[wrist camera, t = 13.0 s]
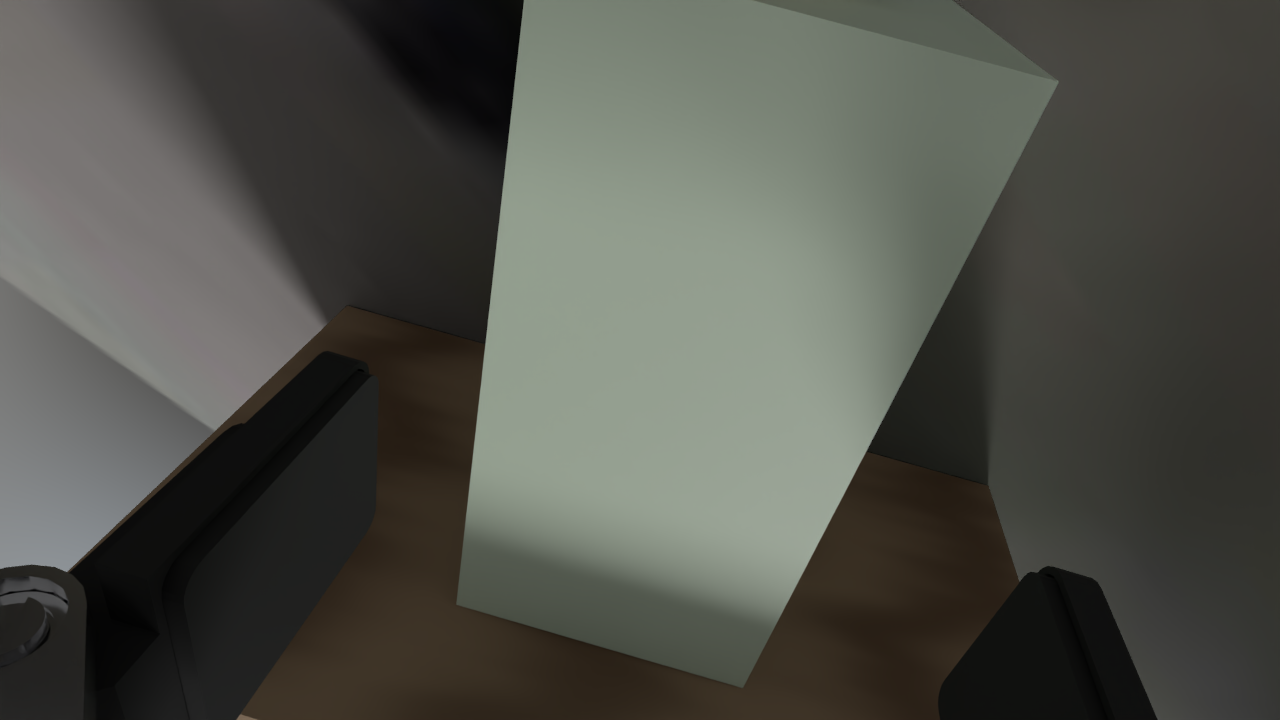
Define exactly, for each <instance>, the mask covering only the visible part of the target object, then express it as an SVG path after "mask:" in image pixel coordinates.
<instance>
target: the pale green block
mask: <svg viewBox="0 0 1280 720" xmlns="http://www.w3.org/2000/svg"><path fill="white" fill-rule="evenodd" d="M1058 83H1059V81H1057V80H1056V79H1055V78H1053V77H1052V76H1051V75H1050V74H1048V73H1047V72H1046V71H1044V70H1043V69H1042V68H1040V67H1039V66H1038V65H1036V64H1035V63H1034V62H1033V61H1031V60H1030V59H1029V58H1027V57H1026V56H1025V55H1023V54H1022V53H1021V52H1019V51H1018V50H1017V49H1015V48H1014V47H1013V46H1012V45H1010V44H1009V43H1008V42H1006V41H1005V40H1004V39H1002V38H1001V37H1000V36H998V35H997V34H996V33H995V32H993V31H992V30H991V29H989V28H988V27H987V26H985V25H984V24H983V23H981V22H980V21H979V20H978V19H976V18H975V17H974V16H972V15H971V14H970V13H968V12H967V11H966V10H964V9H963V8H962V7H961V6H959V5H958V4H957V3H955V2H954V1H953V0H524V5H523V14H522V23H521V32H520V41H519V50H518V59H517V68H516V77H515V86H514V94H513V103H512V112H511V121H510V130H509V139H508V148H507V157H506V166H505V175H504V184H503V192H502V201H501V210H500V219H499V228H498V237H497V246H496V255H495V264H494V273H493V281H492V290H491V299H490V308H489V317H488V326H487V335H486V344H485V353H484V362H483V371H482V379H481V388H480V397H479V406H478V415H477V424H476V433H475V442H474V451H473V460H472V469H471V477H470V486H469V495H468V504H467V513H466V522H465V531H464V540H463V549H462V558H461V567H460V575H459V584H458V593H457V602H456V605H459V606H462V607H466V608H469V609H473V610H476V611H480V612H483V613H486V614H490V615H493V616H497V617H500V618H504V619H507V620H510V621H514V622H517V623H521V624H524V625H528V626H531V627H534V628H538V629H541V630H545V631H548V632H552V633H555V634H558V635H562V636H565V637H569V638H572V639H576V640H579V641H583V642H586V643H589V644H593V645H596V646H600V647H603V648H607V649H610V650H613V651H617V652H620V653H624V654H627V655H631V656H634V657H637V658H641V659H644V660H648V661H651V662H655V663H658V664H661V665H665V666H668V667H672V668H675V669H679V670H682V671H685V672H689V673H692V674H696V675H699V676H703V677H706V678H710V679H713V680H716V681H720V682H723V683H727V684H730V685H734V686H737V687H740V688H743V687H744V685H745V683H746V681H747V679H748V677H749V675H750V673H751V672H752V670H753V668H754V666H755V664H756V662H757V660H758V658H759V656H760V654H761V652H762V650H763V648H764V647H765V645H766V643H767V641H768V639H769V637H770V635H771V633H772V631H773V629H774V627H775V625H776V624H777V622H778V620H779V618H780V616H781V614H782V612H783V610H784V608H785V606H786V604H787V602H788V601H789V599H790V597H791V595H792V593H793V591H794V589H795V587H796V585H797V583H798V581H799V579H800V578H801V576H802V574H803V572H804V570H805V568H806V566H807V564H808V562H809V560H810V558H811V556H812V555H813V553H814V551H815V549H816V547H817V545H818V543H819V541H820V539H821V537H822V535H823V533H824V531H825V530H826V528H827V526H828V524H829V522H830V520H831V518H832V516H833V514H834V512H835V510H836V508H837V507H838V505H839V503H840V501H841V499H842V497H843V495H844V493H845V491H846V489H847V487H848V485H849V484H850V482H851V480H852V478H853V476H854V474H855V472H856V470H857V468H858V466H859V464H860V462H861V461H862V459H863V457H864V455H865V453H866V451H867V449H868V447H869V445H870V443H871V441H872V439H873V438H874V436H875V434H876V432H877V430H878V428H879V426H880V424H881V422H882V420H883V418H884V416H885V414H886V413H887V411H888V409H889V407H890V405H891V403H892V401H893V399H894V397H895V395H896V393H897V391H898V390H899V388H900V386H901V384H902V382H903V380H904V378H905V376H906V374H907V372H908V370H909V368H910V367H911V365H912V363H913V361H914V359H915V357H916V355H917V353H918V351H919V349H920V347H921V345H922V344H923V342H924V340H925V338H926V336H927V334H928V332H929V330H930V328H931V326H932V324H933V322H934V321H935V319H936V317H937V315H938V313H939V311H940V309H941V307H942V305H943V303H944V301H945V299H946V297H947V296H948V294H949V292H950V290H951V288H952V286H953V284H954V282H955V280H956V278H957V276H958V274H959V273H960V271H961V269H962V267H963V265H964V263H965V261H966V259H967V257H968V255H969V253H970V251H971V250H972V248H973V246H974V244H975V242H976V240H977V238H978V236H979V234H980V232H981V230H982V228H983V227H984V225H985V223H986V221H987V219H988V217H989V215H990V213H991V211H992V209H993V207H994V205H995V204H996V202H997V200H998V198H999V196H1000V194H1001V192H1002V190H1003V188H1004V186H1005V184H1006V182H1007V180H1008V179H1009V177H1010V175H1011V173H1012V171H1013V169H1014V167H1015V165H1016V163H1017V161H1018V159H1019V157H1020V156H1021V154H1022V152H1023V150H1024V148H1025V146H1026V144H1027V142H1028V140H1029V138H1030V136H1031V134H1032V133H1033V131H1034V129H1035V127H1036V125H1037V123H1038V121H1039V119H1040V117H1041V115H1042V113H1043V111H1044V110H1045V108H1046V106H1047V104H1048V102H1049V100H1050V98H1051V96H1052V94H1053V92H1054V90H1055V88H1056V87H1057V85H1058Z"/></svg>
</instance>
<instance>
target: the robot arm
mask: <svg viewBox="0 0 1280 720" xmlns="http://www.w3.org/2000/svg"><path fill="white" fill-rule="evenodd" d="M378 396H379V382H378V378H377V376H375V375H372V374H369V367H368V365H367V363H365V362H364V361H361V360H357V359H354V358H351V357H347V356H344V355H340V354H337V353H334V352H330V351H324V352H322V353H320V354H319V355H318V356H317V357H316V358H314V359H313V360H312V361H311V362H310V363H309V364H308V365H307V366H306V367H305V368H304V369H303V370H302V371H300V372H299V373H298V374H297V375H296V376H295V377H294V378H293V379H292V380H291V381H290V382H289V383H288V384H287V385H285V386H284V387H283V388H282V389H281V390H280V391H279V392H278V393H277V394H276V395H275V396H274V397H273V398H271V399H270V400H269V401H268V402H267V403H266V404H265V405H264V406H263V407H262V408H261V409H260V410H259V411H257V412H256V413H255V414H254V415H253V416H252V417H251V418H250V419H249V420H248V421H247V422H246V423H245V424H243V423H240V424H237V425H233V426H231V427H230V428H229V429H227V430H226V431H224V432H223V433H222V434H221V435H220V436H218V437H217V438H216V439H215V440H214V441H213V442H212V443H211V444H210V445H209V446H207V447H206V448H205V449H204V450H203V451H202V452H201V453H200V454H199V455H198V456H197V457H195V458H194V459H193V460H192V461H191V462H190V463H189V464H188V465H187V466H186V467H184V468H183V469H182V470H181V471H180V472H179V473H178V474H177V475H176V476H175V477H173V478H172V479H171V480H170V481H169V482H168V483H167V484H166V485H165V486H164V487H162V488H161V489H160V490H159V491H158V492H157V493H156V494H155V495H154V496H153V497H152V498H150V499H149V500H148V501H147V502H146V503H145V504H144V505H143V506H142V507H141V508H139V509H138V510H137V511H136V512H135V513H134V514H133V515H132V516H131V517H130V518H128V519H127V520H126V521H125V522H124V523H123V524H122V525H121V526H120V527H119V528H117V529H116V530H115V531H114V532H113V533H112V534H111V535H110V536H109V537H108V538H107V539H105V540H104V541H103V542H102V543H101V544H100V545H99V546H98V547H97V548H96V549H94V550H93V551H92V552H91V553H90V554H89V555H88V556H87V557H86V558H85V559H83V560H82V561H81V562H80V563H79V564H78V565H77V566H76V567H75V568H74V569H72V570H71V571H70V572H69V573H67V572H65V571H63V570H60V569H58V568H56V567H49V566H39V565H24V566H15V567H6V568H3V569H0V720H237V718H238V717H239V715H240V714H241V712H242V711H243V709H244V708H245V707H246V705H247V704H248V702H249V701H250V699H251V698H252V697H253V695H254V694H255V692H256V691H257V689H258V688H259V687H260V685H261V684H262V682H263V681H264V679H265V678H266V676H267V675H268V674H269V672H270V671H271V669H272V668H273V666H274V665H275V664H276V662H277V661H278V659H279V658H280V656H281V655H282V653H283V652H284V651H285V649H286V648H287V646H288V645H289V643H290V642H291V641H292V639H293V638H294V636H295V635H296V633H297V632H298V631H299V629H300V628H301V626H302V625H303V623H304V622H305V620H306V619H307V618H308V616H309V615H310V613H311V612H312V610H313V609H314V608H315V606H316V605H317V603H318V602H319V600H320V599H321V597H322V596H323V595H324V593H325V592H326V590H327V589H328V587H329V586H330V585H331V583H332V582H333V580H334V579H335V577H336V576H337V575H338V573H339V572H340V570H341V569H342V567H343V566H344V564H345V563H346V562H347V560H348V559H349V557H350V556H351V554H352V553H353V552H354V550H355V549H356V547H357V546H358V544H359V543H360V541H361V540H362V539H363V537H364V536H365V534H366V533H367V531H368V529H369V528H370V526H371V523H372V521H373V518H374V515H375V510H376V483H377V439H378ZM938 710H939V716H940V720H1157V717H1156V715H1155V713H1154V710H1153V708H1152V706H1151V703H1150V701H1149V699H1148V696H1147V694H1146V692H1145V689H1144V687H1143V685H1142V682H1141V680H1140V678H1139V675H1138V673H1137V671H1136V668H1135V666H1134V664H1133V661H1132V659H1131V657H1130V654H1129V652H1128V650H1127V647H1126V645H1125V643H1124V640H1123V638H1122V636H1121V633H1120V631H1119V629H1118V626H1117V624H1116V622H1115V619H1114V617H1113V615H1112V612H1111V610H1110V608H1109V605H1108V603H1107V601H1106V598H1105V596H1104V593H1103V591H1102V589H1101V587H1100V586H1099V584H1098V582H1096V581H1095V580H1094V579H1092V578H1089V577H1086V576H1083V575H1079V574H1076V573H1073V572H1069V571H1066V570H1062V569H1059V568H1056V567H1051V566H1047V567H1044V568H1042V569H1041V570H1040V571H1039V572H1038V573H1035V572H1030V573H1028V574H1026V575H1025V576H1024V577H1023V579H1022V580H1021V581H1020V583H1019V584H1018V585H1017V586H1016V588H1015V589H1014V590H1013V592H1012V593H1011V594H1010V596H1009V597H1008V598H1007V599H1006V601H1005V602H1004V603H1003V605H1002V606H1001V607H1000V609H999V610H998V611H997V612H996V614H995V615H994V616H993V618H992V619H991V620H990V622H989V623H988V624H987V625H986V627H985V628H984V629H983V631H982V632H981V633H980V635H979V636H978V637H977V638H976V640H975V641H974V642H973V644H972V645H971V646H970V648H969V649H968V650H967V651H966V653H965V654H964V655H963V657H962V658H961V659H960V661H959V662H958V663H957V664H956V666H955V667H954V668H953V670H952V671H951V672H950V674H949V675H948V676H947V677H946V679H945V680H944V682H943V683H942V685H941V688H940V691H939V696H938Z"/></svg>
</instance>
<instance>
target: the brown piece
mask: <svg viewBox="0 0 1280 720" xmlns="http://www.w3.org/2000/svg"><path fill="white" fill-rule="evenodd" d="M324 351H330V352H334V353H337V354H340V355H344V356H347V357H351V358H354V359H357V360H361V361H364V362H365V363H367V365H368V367H369V374H372V375H375V376H377V378H378V382H379V396H378V439H377V483H376V510H375V515H374V518H373V521H372V523H371V526H370V528H369V529H368V531H367V533H366V534H365V536H364V537H363V539H362V540H361V541H360V543H359V544H358V546H357V547H356V549H355V550H354V552H353V553H352V554H351V556H350V557H349V559H348V560H347V562H346V563H345V564H344V566H343V567H342V569H341V570H340V572H339V573H338V575H337V576H336V577H335V579H334V580H333V582H332V583H331V585H330V586H329V587H328V589H327V590H326V592H325V593H324V595H323V596H322V597H321V599H320V600H319V602H318V603H317V605H316V606H315V608H314V609H313V610H312V612H311V613H310V615H309V616H308V618H307V619H306V620H305V622H304V623H303V625H302V626H301V628H300V629H299V631H298V632H297V633H296V635H295V636H294V638H293V639H292V641H291V642H290V643H289V645H288V646H287V648H286V649H285V651H284V652H283V653H282V655H281V656H280V658H279V659H278V661H277V662H276V664H275V665H274V666H273V668H272V669H271V671H270V672H269V674H268V675H267V676H266V678H265V679H264V681H263V682H262V684H261V685H260V687H259V688H258V689H257V691H256V692H255V694H254V695H253V697H252V698H251V699H250V701H249V702H248V704H247V705H246V707H245V708H244V709H243V711H242V712H241V714H240V715H239V717H238V718H237V720H940V716H939V710H938V696H939V691H940V688H941V685H942V683H943V682H944V680H945V679H946V677H947V676H948V675H949V674H950V672H951V671H952V670H953V668H954V667H955V666H956V664H957V663H958V662H959V661H960V659H961V658H962V657H963V655H964V654H965V653H966V651H967V650H968V649H969V648H970V646H971V645H972V644H973V642H974V641H975V640H976V638H977V637H978V636H979V635H980V633H981V632H982V631H983V629H984V628H985V627H986V625H987V624H988V623H989V622H990V620H991V619H992V618H993V616H994V615H995V614H996V612H997V611H998V610H999V609H1000V607H1001V606H1002V605H1003V603H1004V602H1005V601H1006V599H1007V598H1008V597H1009V596H1010V594H1011V593H1012V592H1013V590H1014V589H1015V588H1016V586H1017V585H1018V584H1019V579H1018V576H1017V573H1016V570H1015V567H1014V564H1013V561H1012V558H1011V555H1010V551H1009V548H1008V545H1007V542H1006V539H1005V536H1004V533H1003V530H1002V527H1001V523H1000V520H999V517H998V514H997V511H996V508H995V505H994V502H993V499H992V495H991V492H990V489H989V486H987V485H983V484H980V483H976V482H972V481H969V480H965V479H962V478H958V477H955V476H951V475H948V474H944V473H940V472H937V471H933V470H930V469H926V468H923V467H919V466H916V465H912V464H908V463H905V462H901V461H898V460H894V459H891V458H887V457H884V456H880V455H876V454H873V453H869V452H866V453H865V455H864V457H863V459H862V461H861V462H860V464H859V466H858V468H857V470H856V472H855V474H854V476H853V478H852V480H851V482H850V484H849V485H848V487H847V489H846V491H845V493H844V495H843V497H842V499H841V501H840V503H839V505H838V507H837V508H836V510H835V512H834V514H833V516H832V518H831V520H830V522H829V524H828V526H827V528H826V530H825V531H824V533H823V535H822V537H821V539H820V541H819V543H818V545H817V547H816V549H815V551H814V553H813V555H812V556H811V558H810V560H809V562H808V564H807V566H806V568H805V570H804V572H803V574H802V576H801V578H800V579H799V581H798V583H797V585H796V587H795V589H794V591H793V593H792V595H791V597H790V599H789V601H788V602H787V604H786V606H785V608H784V610H783V612H782V614H781V616H780V618H779V620H778V622H777V624H776V625H775V627H774V629H773V631H772V633H771V635H770V637H769V639H768V641H767V643H766V645H765V647H764V648H763V650H762V652H761V654H760V656H759V658H758V660H757V662H756V664H755V666H754V668H753V670H752V672H751V673H750V675H749V677H748V679H747V681H746V683H745V685H744V687H743V688H740V687H737V686H734V685H730V684H727V683H723V682H720V681H716V680H713V679H710V678H706V677H703V676H699V675H696V674H692V673H689V672H685V671H682V670H679V669H675V668H672V667H668V666H665V665H661V664H658V663H655V662H651V661H648V660H644V659H641V658H637V657H634V656H631V655H627V654H624V653H620V652H617V651H613V650H610V649H607V648H603V647H600V646H596V645H593V644H589V643H586V642H583V641H579V640H576V639H572V638H569V637H565V636H562V635H558V634H555V633H552V632H548V631H545V630H541V629H538V628H534V627H531V626H528V625H524V624H521V623H517V622H514V621H510V620H507V619H504V618H500V617H497V616H493V615H490V614H486V613H483V612H480V611H476V610H473V609H469V608H466V607H462V606H459V605H456V602H457V593H458V584H459V575H460V567H461V558H462V549H463V540H464V531H465V522H466V513H467V504H468V495H469V486H470V477H471V469H472V460H473V451H474V442H475V433H476V424H477V415H478V406H479V397H480V388H481V379H482V371H483V362H484V353H485V344H482V343H478V342H475V341H471V340H468V339H464V338H461V337H457V336H454V335H450V334H446V333H443V332H439V331H436V330H432V329H429V328H425V327H422V326H418V325H414V324H411V323H407V322H404V321H400V320H397V319H393V318H390V317H386V316H383V315H379V314H375V313H372V312H368V311H365V310H361V309H358V308H354V307H351V306H346V307H345V308H344V309H343V310H342V311H341V312H340V313H339V314H338V315H337V316H336V317H335V318H334V319H332V320H331V321H330V322H329V323H328V324H327V325H326V326H325V327H324V328H323V329H322V330H321V331H320V332H319V333H318V334H317V335H316V336H315V337H314V338H313V339H311V340H310V341H309V342H308V343H307V344H306V345H305V346H304V347H303V348H302V349H301V350H300V351H299V352H298V353H297V354H296V355H295V356H294V357H293V358H292V359H290V360H289V361H288V362H287V363H286V364H285V365H284V366H283V367H282V368H281V369H280V370H279V371H278V372H277V373H276V374H275V375H274V376H273V377H272V378H271V379H269V380H268V381H267V382H266V383H265V384H264V385H263V386H262V387H261V388H260V389H259V390H258V391H257V392H256V393H255V394H254V395H253V396H252V397H251V398H250V399H248V400H247V401H246V402H245V403H244V404H243V405H242V406H241V407H240V408H239V409H238V410H237V411H236V412H235V413H234V414H233V415H232V416H231V417H230V418H228V419H227V420H226V421H225V422H224V423H223V424H222V425H221V426H220V427H219V428H218V429H217V430H216V431H215V432H214V433H213V434H212V435H211V436H210V437H209V438H207V439H206V440H205V441H204V442H203V443H202V444H201V445H200V446H199V447H198V448H197V449H196V450H195V451H194V452H193V453H192V454H191V455H190V456H189V457H188V458H186V459H185V460H184V461H183V462H182V463H181V464H180V465H179V466H178V467H177V468H176V469H175V470H174V471H173V472H172V473H171V474H170V475H169V476H168V477H167V478H165V480H163V481H162V482H161V483H160V484H159V485H158V486H157V487H156V488H155V489H154V490H153V491H152V492H151V493H150V494H149V495H148V496H147V497H146V498H144V499H143V500H142V501H141V502H140V503H139V504H138V505H137V506H136V507H135V508H134V509H133V510H132V511H131V512H130V513H129V514H128V515H127V516H126V517H125V518H124V519H122V520H121V521H120V522H119V523H118V524H117V525H116V526H115V527H114V528H113V529H112V530H111V531H110V532H109V533H108V534H107V535H106V536H105V537H103V539H101V540H100V541H99V542H98V543H97V544H96V545H95V546H94V547H93V548H92V549H91V550H90V551H89V552H88V553H87V554H86V555H85V556H84V557H83V558H81V559H80V560H79V561H78V562H77V563H76V564H75V565H74V566H73V567H72V568H71V569H70V570H69V571H68V572H67V573H69V572H70V571H71V570H72V569H74V568H75V567H76V566H77V565H78V564H79V563H80V562H81V561H82V560H83V559H85V558H86V557H87V556H88V555H89V554H90V553H91V552H92V551H93V550H94V549H96V548H97V547H98V546H99V545H100V544H101V543H102V542H103V541H104V540H105V539H107V538H108V537H109V536H110V535H111V534H112V533H113V532H114V531H115V530H116V529H117V528H119V527H120V526H121V525H122V524H123V523H124V522H125V521H126V520H127V519H128V518H130V517H131V516H132V515H133V514H134V513H135V512H136V511H137V510H138V509H139V508H141V507H142V506H143V505H144V504H145V503H146V502H147V501H148V500H149V499H150V498H152V497H153V496H154V495H155V494H156V493H157V492H158V491H159V490H160V489H161V488H162V487H164V486H165V485H166V484H167V483H168V482H169V481H170V480H171V479H172V478H173V477H175V476H176V475H177V474H178V473H179V472H180V471H181V470H182V469H183V468H184V467H186V466H187V465H188V464H189V463H190V462H191V461H192V460H193V459H194V458H195V457H197V456H198V455H199V454H200V453H201V452H202V451H203V450H204V449H205V448H206V447H207V446H209V445H210V444H211V443H212V442H213V441H214V440H215V439H216V438H217V437H218V436H220V435H221V434H222V433H223V432H224V431H226V430H227V429H229V428H230V427H231V426H233V425H237V424H240V423H243V424H245V423H246V422H247V421H248V420H249V419H250V418H251V417H252V416H253V415H254V414H255V413H256V412H257V411H259V410H260V409H261V408H262V407H263V406H264V405H265V404H266V403H267V402H268V401H269V400H270V399H271V398H273V397H274V396H275V395H276V394H277V393H278V392H279V391H280V390H281V389H282V388H283V387H284V386H285V385H287V384H288V383H289V382H290V381H291V380H292V379H293V378H294V377H295V376H296V375H297V374H298V373H299V372H300V371H302V370H303V369H304V368H305V367H306V366H307V365H308V364H309V363H310V362H311V361H312V360H313V359H314V358H316V357H317V356H318V355H319V354H320V353H322V352H324Z"/></svg>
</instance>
